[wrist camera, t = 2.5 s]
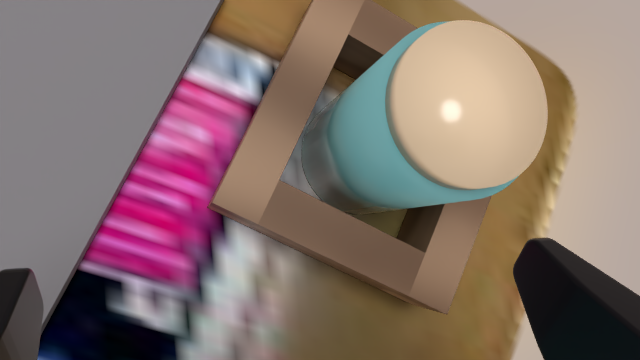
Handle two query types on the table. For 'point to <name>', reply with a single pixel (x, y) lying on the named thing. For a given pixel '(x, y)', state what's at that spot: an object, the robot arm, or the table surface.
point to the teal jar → (429, 123)
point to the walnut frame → (318, 217)
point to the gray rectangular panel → (80, 117)
